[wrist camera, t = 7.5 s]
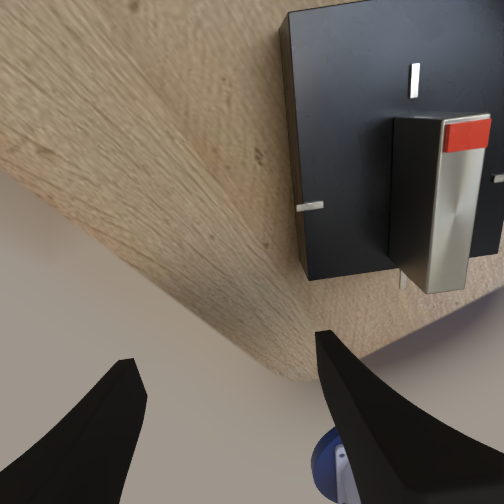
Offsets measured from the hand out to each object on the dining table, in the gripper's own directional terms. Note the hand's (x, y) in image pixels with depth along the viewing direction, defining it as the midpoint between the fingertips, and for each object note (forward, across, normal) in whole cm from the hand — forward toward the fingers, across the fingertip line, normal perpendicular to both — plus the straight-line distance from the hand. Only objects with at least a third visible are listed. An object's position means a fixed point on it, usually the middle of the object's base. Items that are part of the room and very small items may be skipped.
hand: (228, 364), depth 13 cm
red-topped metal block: (+6, -10, -4) cm, 12 cm away
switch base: (+9, -10, -6) cm, 15 cm away
